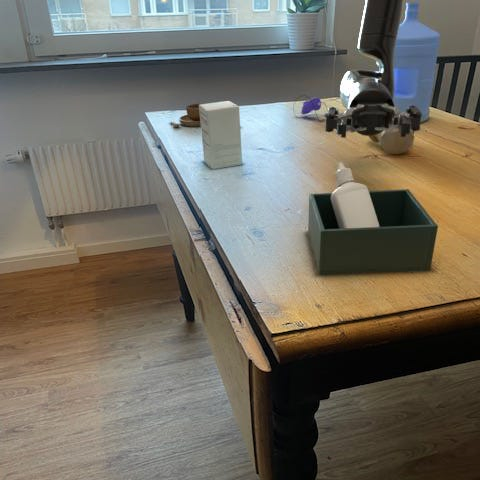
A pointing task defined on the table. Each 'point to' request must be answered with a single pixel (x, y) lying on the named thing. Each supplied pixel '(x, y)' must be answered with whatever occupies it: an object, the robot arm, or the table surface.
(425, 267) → the storage bin
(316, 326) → the table surface
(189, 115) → the place setting
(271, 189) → the table surface
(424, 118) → the water jug
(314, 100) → the game controller
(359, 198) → the eye dropper bottle
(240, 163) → the white packaging box
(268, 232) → the table surface
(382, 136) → the ceramic sculpture
